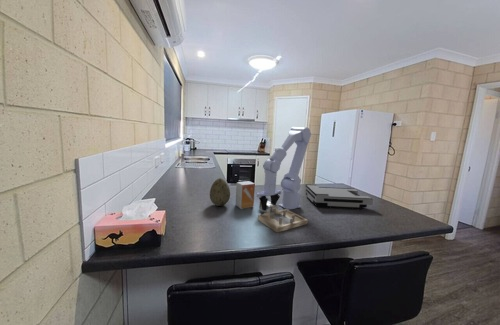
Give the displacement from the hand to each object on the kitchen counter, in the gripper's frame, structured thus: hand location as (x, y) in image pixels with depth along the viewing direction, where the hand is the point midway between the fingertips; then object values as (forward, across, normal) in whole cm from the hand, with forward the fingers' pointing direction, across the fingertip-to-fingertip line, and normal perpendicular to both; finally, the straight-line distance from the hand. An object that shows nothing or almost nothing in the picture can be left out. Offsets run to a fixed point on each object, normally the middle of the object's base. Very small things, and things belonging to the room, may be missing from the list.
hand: (268, 209), depth 106 cm
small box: (+2, +7, -12) cm, 14 cm away
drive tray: (+1, +1, +12) cm, 12 cm away
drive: (+2, 0, 0) cm, 2 cm away
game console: (+2, -47, +6) cm, 47 cm away
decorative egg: (+2, +19, -18) cm, 26 cm away
